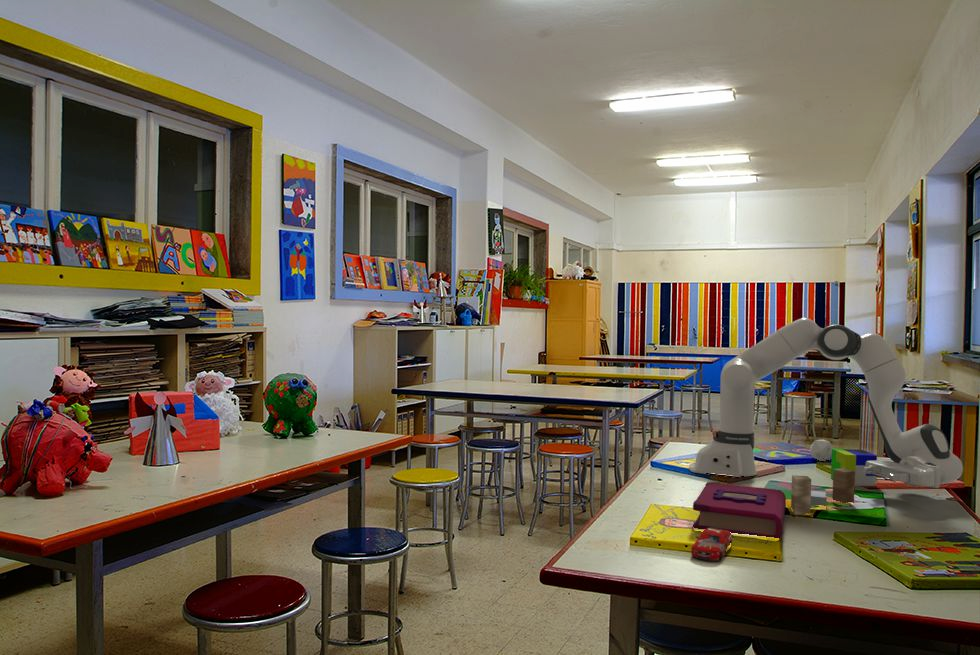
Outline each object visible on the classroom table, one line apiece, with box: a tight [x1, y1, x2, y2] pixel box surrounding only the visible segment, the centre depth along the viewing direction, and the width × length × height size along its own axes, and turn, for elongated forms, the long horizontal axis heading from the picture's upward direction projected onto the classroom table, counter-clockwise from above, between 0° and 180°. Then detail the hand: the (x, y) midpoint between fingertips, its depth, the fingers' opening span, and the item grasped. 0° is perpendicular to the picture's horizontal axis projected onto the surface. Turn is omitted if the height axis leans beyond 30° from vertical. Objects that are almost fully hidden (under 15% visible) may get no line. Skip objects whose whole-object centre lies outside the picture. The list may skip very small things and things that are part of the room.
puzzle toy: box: [830, 448, 878, 487], centre depth 241 cm, size 10×10×10 cm
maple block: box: [790, 474, 812, 516], centre depth 201 cm, size 4×4×10 cm
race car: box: [690, 528, 733, 562], centre depth 167 cm, size 16×7×5 cm, turn 148°
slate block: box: [811, 490, 827, 507], centre depth 208 cm, size 7×7×4 cm
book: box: [692, 481, 787, 540], centre depth 191 cm, size 21×28×8 cm
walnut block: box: [832, 468, 855, 504], centre depth 211 cm, size 4×4×10 cm
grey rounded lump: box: [809, 439, 835, 462], centre depth 276 cm, size 8×9×10 cm
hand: (878, 474), depth 215 cm, fingers open, 8 cm apart
